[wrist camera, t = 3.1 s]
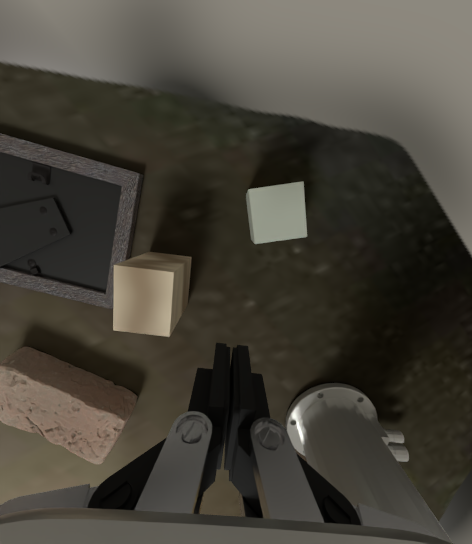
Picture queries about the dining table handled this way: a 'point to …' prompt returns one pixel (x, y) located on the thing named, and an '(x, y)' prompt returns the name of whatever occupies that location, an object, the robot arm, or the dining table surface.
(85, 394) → the brick
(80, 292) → the picture frame
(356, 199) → the dining table surface
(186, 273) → the maple block
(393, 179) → the dining table surface
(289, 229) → the sage block
